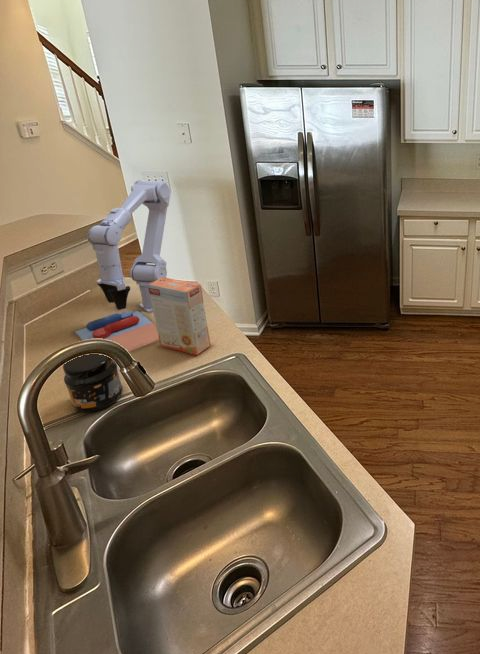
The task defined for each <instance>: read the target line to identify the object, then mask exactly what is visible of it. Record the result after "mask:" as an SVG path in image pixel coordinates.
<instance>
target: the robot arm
mask: <svg viewBox="0 0 480 654" xmlns="http://www.w3.org/2000/svg"><path fill="white" fill-rule="evenodd" d="M130 189H131V190H130V193H129V194H128V196H127V197H126V199H125V200H124V201H123V203H122V204H121V206H120V207H115V208H111V210H110V211H109V213H108V214H107V216H105V218H103V220H101V222H100V223H99V224H97V225H94V226H92V227H91V228H89V229H88V232H87V236H86V238H87V241H88V242H89V243H90V244H91V246H92V247H91V248H92V249H93V251H94V252H95V256H96V257H95V258H96V262H97V266H98V267H97V268H98V272H99V279H97V280H95V281H96V284H97V285H98V286H99V288H100V289H101V291H102V292H103V294H104V296H105V299H106V300H107V302H108V303H109V304H111V303H114V306H115V307H116V309H117V310H118V311H122V310H124V309H127V304H128V303H127V302H128V295H129V294H130V292H131V286H130V285H126V283H125V275H124V274H123V268H122V262H121V256H120V250H119V245H118V244H119V243H120V242H121V240H122V235H123V232H124V230H125V229H126V227H127V226H128V225H129V224H130V222H131V221H132V214H133V213H134V212H135V211H136V210H137V209H138V208H139V207H140V206H141V205H143V206H145V207H146V208H147V209H148V214H147V215H148V216H147V222H146V227H145V228H146V229H145V232H144V233H145V234H144V240H143V244H142V245H143V246H142V250H141V251H142V253H141V254H140V255H139V256H137V257H136V258H134V259H133V260H134V261H133V265H132V266H131V268H130V271H129V275H130V278H131V280H132V281H133V282H135V283H136V285H138V287H139V293H140V295H141V296H140V297H141V300H142V302H140V303H139V304H138V306H139V307H141V308H142V309H143V310H144V311H146V312H147V313H150V312H153V308H152V303H151V298H150V293H149V289H148V284H150V283H152V282H154V281H156V280H158V279H160V278H163V277H165V278H167V275H168V270H167V262H166V260H165V259H164V258H162V256H161V252H162V251H161V250H162V244H163V237H164V231H165V226H166V225H165V224H166V218H167V211H168V208H169V205H170V198H171V194H172V191H171V188H170V187H169V185H168V183H167V182H166V181H164V180H161V181H155V180H141V179H138V180H136V181H134V183H133V184H132V185H131V186H130Z"/></svg>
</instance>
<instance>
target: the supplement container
mask: <svg viewBox="0 0 480 654" xmlns="http://www.w3.org/2000/svg"><path fill="white" fill-rule="evenodd" d="M117 364H118V363H117V362H116V360H114V358H113V359H111V358H109V357H107V356H104V355H99V354H89V355H83V356H81V357H77V358H75V359H73V360H71V361H69V362H67V363H66V364H64V363H63V365H62V369H63V373H64V377H63V382H64V384H65V386H66V389H67V392H68V395H69V398H70V401H71V406H72V407H73V409H74V410H76V411H77V412H80V413H93V412H97V411H100V410H103V409H106V408H107V407H109V406H111V405H113V404H114V403H115V402H117V401H118V400H119V399H120V398H121V396H122V395H123V390H124V389H123V385H122V382H121V377H120V374H119V369H118V365H117Z"/></svg>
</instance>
